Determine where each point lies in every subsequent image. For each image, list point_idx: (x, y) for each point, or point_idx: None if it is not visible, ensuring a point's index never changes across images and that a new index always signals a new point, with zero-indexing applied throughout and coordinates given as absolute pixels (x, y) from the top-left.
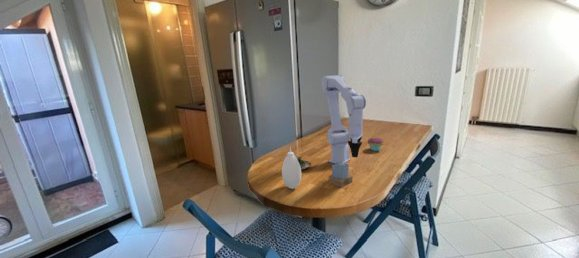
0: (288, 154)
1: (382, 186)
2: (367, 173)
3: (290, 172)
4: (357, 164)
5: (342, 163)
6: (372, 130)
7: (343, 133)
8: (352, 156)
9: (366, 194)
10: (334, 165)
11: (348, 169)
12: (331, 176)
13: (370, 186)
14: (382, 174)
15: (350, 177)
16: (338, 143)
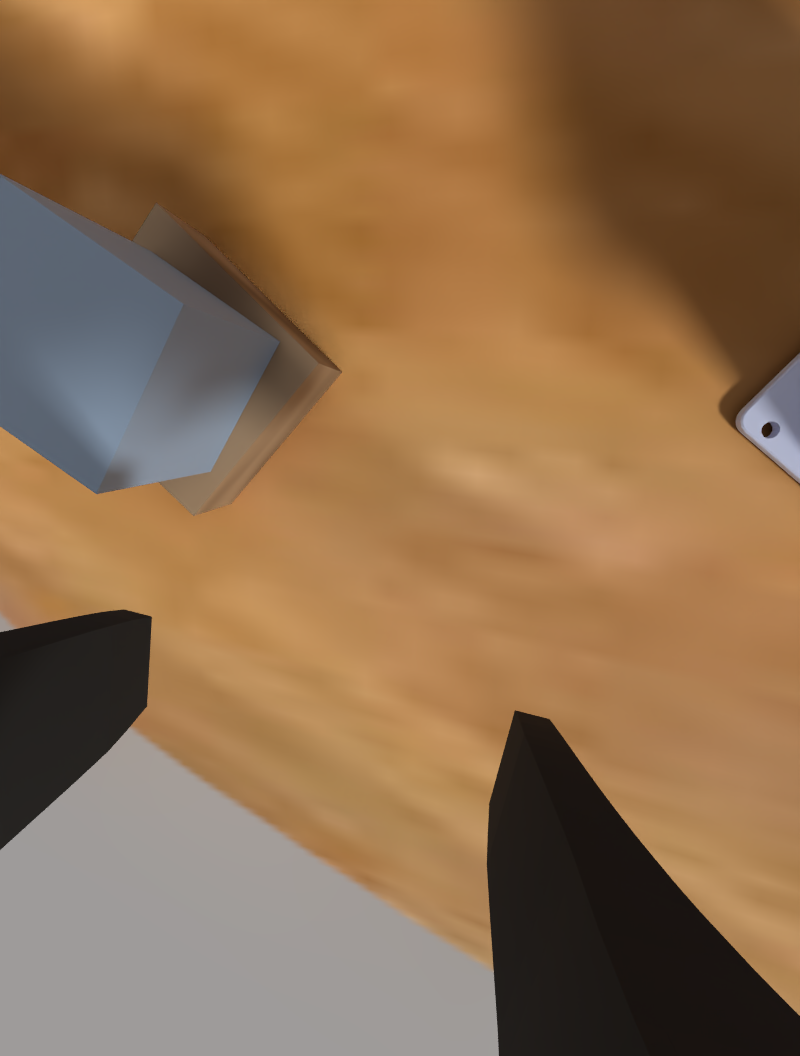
0: None
1: (169, 736)
2: (435, 695)
3: None
4: (729, 655)
5: (120, 388)
6: None
7: None
8: (104, 615)
9: (23, 578)
10: (5, 221)
11: (158, 481)
12: (158, 243)
13: (157, 645)
14: (408, 819)
15: (168, 488)
16: None
